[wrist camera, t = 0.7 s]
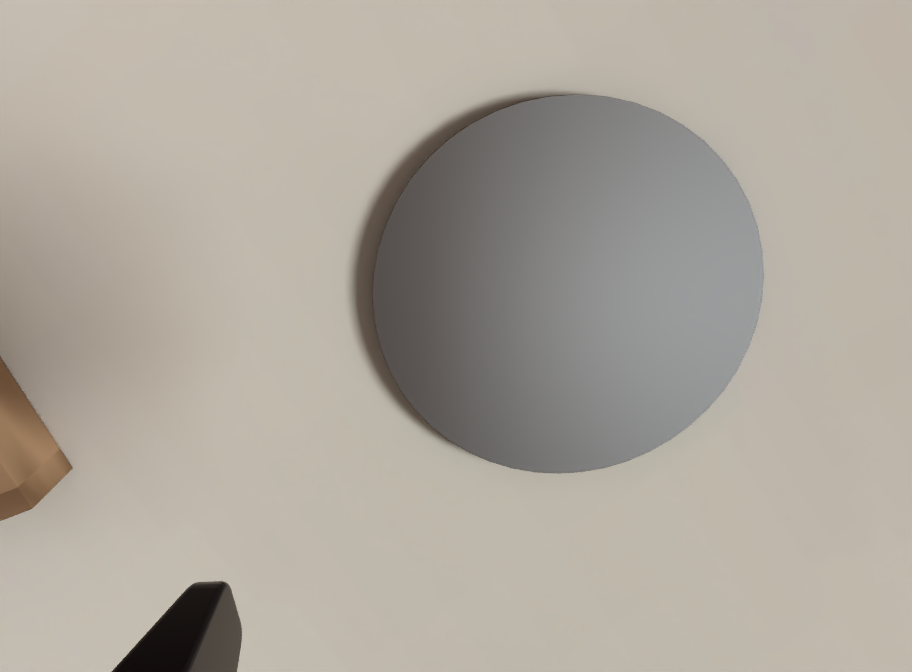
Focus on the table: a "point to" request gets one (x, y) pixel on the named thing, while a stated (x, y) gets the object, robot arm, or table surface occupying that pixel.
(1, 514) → the wood frame
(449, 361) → the slate mat
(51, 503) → the table surface
